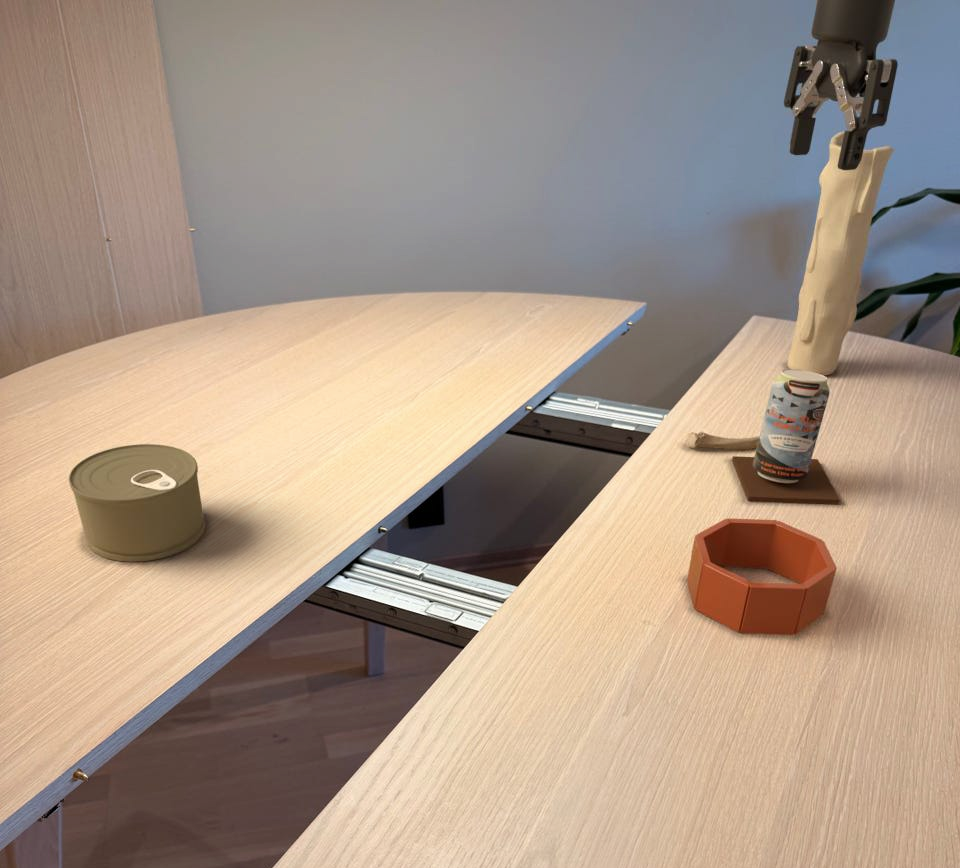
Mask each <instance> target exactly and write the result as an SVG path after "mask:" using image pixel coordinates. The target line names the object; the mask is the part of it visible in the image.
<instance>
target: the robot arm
mask: <svg viewBox="0 0 960 868" xmlns="http://www.w3.org/2000/svg"><path fill="white" fill-rule="evenodd" d="M895 4H896V0H816V6H815V10H814V16H813V21H812V25H811V26H812V27H811V37H812V38H813V39H815V40H817V43H816V45H798V46H796V48H795V49H794V53H793V57H792V62H791V67H790V71H789V76H788V80H787V85H786V89H785V94H784V98H783V106H784V108H788V109H790V110H791V113H792V115H793V117H794V120H793V125H792V131H791V136H790V142H789V153H790V155H793V156H806V155H808V154H809V152H810V149H811V144H812V140H813V136H814V135H813V134H814V130H815V124H816V120H817V118H816V117H813V116H815V115H816V114H817V112H818V111H819V110H820V109H821V107H822V105H823V104H824V103H825V102H827V101H829V100H831V101H833V102H836V103H837V105H838V108H839V110H840V111H841V112H843V115H844V120H845V121H844V122H845V126H846V129H847V130H844V131H845V133H844V138H843V142H842V147H841V152H840V156H839V161H838V168H839V169H841V170H855V169H856V168H857V167H858V165H859V163H860V161H861V159H862V155H863V154H862V153H863V150H865V145H866V141H867V137H868V133H869V132H870V131H871V130H872V129H874V128H878V127H884V126H885V125H886V123H887V122H888V121H887V120H888V115H889V110H890V105H891V101H892V96H893V90H894V86H895V80H896V75H897V72H898V66H899V63H898V60H897V59H896V58H888V59H887V58H885V59H883V58H880V59H877V48H878V46H879V44H880V43H882V42H884V41H885V40H886V39H887V37H888V34H889V29H890V25H891V20H892V16H893V12H894V8H895ZM800 84H801V87H800V91H799V94H797V90H798V86H799V85H800ZM876 101H878V103H877V107H876V112H874V109H875V103H876ZM857 113H859V116H858V114H857Z"/></svg>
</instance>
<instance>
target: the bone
mask: <svg viewBox="0 0 960 868" xmlns="http://www.w3.org/2000/svg"><path fill="white" fill-rule="evenodd" d="M759 437H760V435H759V436H751V437H741V438H738V437H737V438H731V437H722V436H719V435H718V436H717V435H712V434H709V433H706V432H704V431H700V432H698V433H696V432H693V431H691V432H689V433H688V434H687V435H686V439H685V443H686V446H687V447H688V448H689V449H699V448H711V449H717V448H718V449H727V450H748V449H749V450H751V449H754V448H757V445H758V441H759Z"/></svg>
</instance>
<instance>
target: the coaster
mask: <svg viewBox="0 0 960 868" xmlns="http://www.w3.org/2000/svg"><path fill="white" fill-rule="evenodd" d="M754 457H755V456H737V455H735V456H734V455H733V456H732V458H731V462H732V465H733V466H734V467H733V468H734V469H735V473H736V474H737V477H738V479H739V482H740V485H741V488H742V489H743V493H744V495H745V497H746V500H747V502H763V503H788V504H789V503H792V504H793V503H794V504H795V503H796V504H820V505H821V504H822V505H825V504H826V505H840V502H841V498H840V497H839V495H838V493H837V492H836V490H835V488H834V486H833V484H832V482H831V481H830V478H829V477H828V475H827V473H826V472H825V470H824V468H823V466H822V465H821V463H820V461H819V459H818V458H812V459H811V463H810V466H809V470H808V474H807V476H806V477H805V478H803V479H800V480H798V481H797V482H795V483H780V482H775V481H771V480H768V479H765V478H763V477H761V476H760V475H759V474H758V471H756V470H755V469H754V468H753V461H754Z"/></svg>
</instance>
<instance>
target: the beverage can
mask: <svg viewBox="0 0 960 868" xmlns="http://www.w3.org/2000/svg"><path fill="white" fill-rule="evenodd" d="M829 398H830V388H829V385H828V377H827V376H826V375H821V374H818V373H814V372H810V371H804V370H797V369H790V368H785V369H782V370H781V371H780V374H779V376H777V377H776V378H775V379H774V380H773V382H772V385H771V388H770V391H769V396H768V400H767V404H766V409H765V413H764V417H763V421H762V425H761V428H760V429H761V430H760V433H759V436H760V437H759V441H758V445H757V447H756V449H755V454H754V456H753V457H754V461H753V468H754V469H755V470H756V471H758V474H759V475H760V476H761V477H763V478H765V479H768V480H771V481H775V482H780V483H795V482H797V481H798V480H800V479H803V478H805V477H806V476H807V474H808V470H809V466H810V463H811V459H813V455H814V453H815V452H814V451H815V448H816V445H817V441H818V437H819V434H820V430H821V426H822V422H823V419H824V416H825V411H826V408H827V404H828V400H829Z"/></svg>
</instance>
